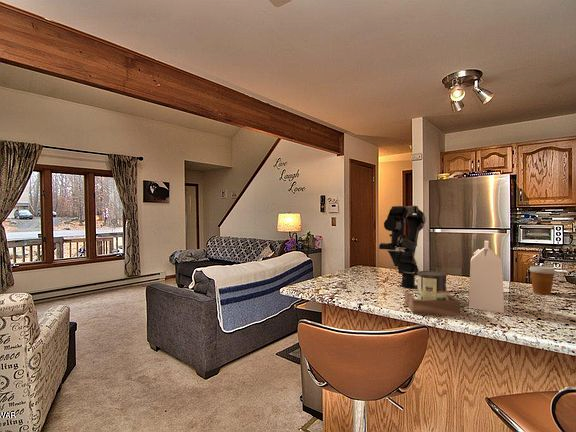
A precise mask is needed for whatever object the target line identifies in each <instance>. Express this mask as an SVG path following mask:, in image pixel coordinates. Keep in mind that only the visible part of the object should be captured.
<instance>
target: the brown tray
mask: <svg viewBox="0 0 576 432" xmlns="http://www.w3.org/2000/svg"><path fill="white" fill-rule="evenodd" d="M404 304H405V305H406V307H407V308H408V309H409V310H410V312H411V313H412V314H413V315H434V316H435V315H436V316H455V317H456V316H457V317H458V316H459V317H460V316H461V301H460V300H458V299H457V298H456V297H455V296H453V295H452V294H451V293H448V292H447V291H446V300H419V299H418V298H417V299H416V298H415V297H414V296H413V295H412V294H411V293H410V292H409V291H408V290H404Z"/></svg>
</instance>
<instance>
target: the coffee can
mask: <svg viewBox="0 0 576 432" xmlns="http://www.w3.org/2000/svg"><path fill="white" fill-rule="evenodd" d="M417 274H418V275H417V285H418V286H417V299H419V300H446V292H447V277H448V276H447V273H446V272H441V271H437V270H419V272H417Z"/></svg>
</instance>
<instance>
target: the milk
mask: <svg viewBox="0 0 576 432" xmlns="http://www.w3.org/2000/svg"><path fill="white" fill-rule="evenodd" d="M489 242H490V241H489V240H484V244H483V245H484V247H483V248H481V249H479V248H477V250H475V251H474V252H473V255H472V257H471V258H470V267H469V270H470V271H469V292H468V309H471V308H473V310H478V309H479V311H486V312H491V313H492V312H494V313H501V314H505V307H504V306H505V302H504V301H505V300H504V299H505V298H504V277H503V275H504V274H503V259H502V258H501V257H500V256H499V255H498V254H496V253H495V252H494V251H493V250H492V249H491V248H490V247H489V244H490V243H489Z"/></svg>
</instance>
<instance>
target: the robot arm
mask: <svg viewBox="0 0 576 432" xmlns="http://www.w3.org/2000/svg"><path fill="white" fill-rule="evenodd" d="M426 219H427V218H426V216H425V213H424V211H422V210H420V208H419V207H418V206H417V205H407V206H406V205H393V206H391V208H390V209H389V212H388V214H387V216H386V219H385V220H384V222H383V228H384V229H385V230H386V231H388V232H391V233H389V237H390V239H391V240H390V242H389V243H388V242H386V243H385V242H381V243H379V245H378V249H379V250H387V252H388V253H389V254H388V255H389V256H390V258H391V261H392V263H393V264H394V266H395V267H397V270H398V272H397V273H398V275H401V284H399V285H398V286H400V287H404V288H407V289H414V288H418V284H416V276H418V274H417V272H419V271H420V269H419V267H418V264H417V263H418V262H417V260H416V258H415V255H416V249H417V247H418V239H419V234H420V233H419V232H420V231H421V230H422V229H424V227H425V224H426V221H427V220H426ZM405 220H406V221H405ZM406 222H407V225H408V227H409V231H408V236H407V235H405V233H406V232H405V230H406Z"/></svg>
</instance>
